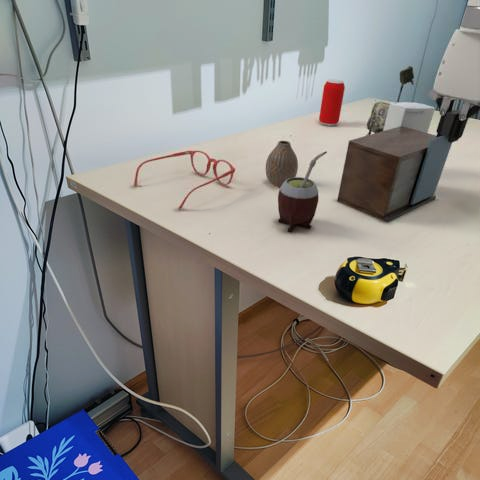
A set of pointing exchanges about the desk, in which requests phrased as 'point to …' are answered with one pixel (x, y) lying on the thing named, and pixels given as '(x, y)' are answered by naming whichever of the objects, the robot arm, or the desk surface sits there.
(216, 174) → the red eyeglasses
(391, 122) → the cosmetic box
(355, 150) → the cabinet
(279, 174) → the vase
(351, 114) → the desk surface
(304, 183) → the mate gourd
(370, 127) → the camouflage trail camera
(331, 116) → the beverage can
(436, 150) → the sliding door
